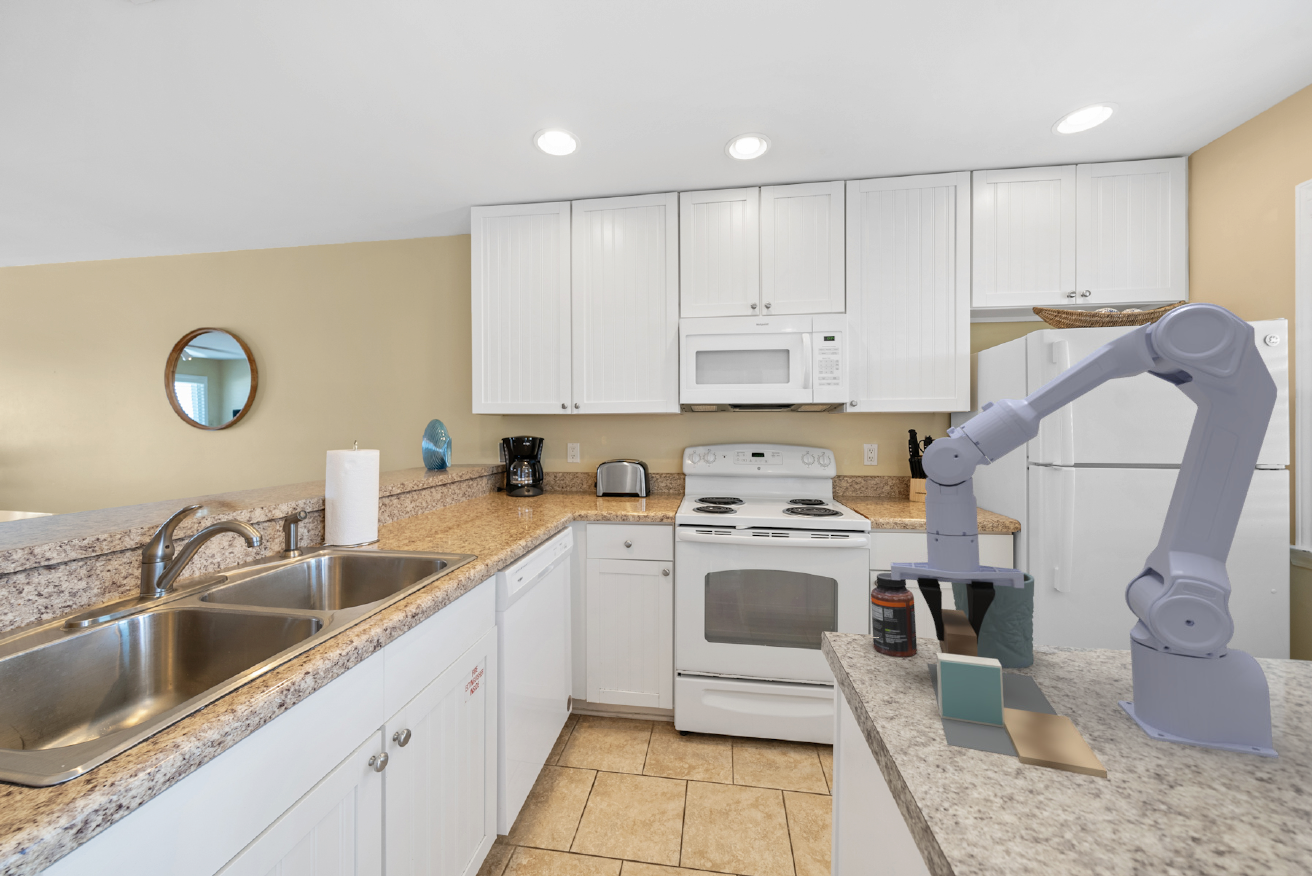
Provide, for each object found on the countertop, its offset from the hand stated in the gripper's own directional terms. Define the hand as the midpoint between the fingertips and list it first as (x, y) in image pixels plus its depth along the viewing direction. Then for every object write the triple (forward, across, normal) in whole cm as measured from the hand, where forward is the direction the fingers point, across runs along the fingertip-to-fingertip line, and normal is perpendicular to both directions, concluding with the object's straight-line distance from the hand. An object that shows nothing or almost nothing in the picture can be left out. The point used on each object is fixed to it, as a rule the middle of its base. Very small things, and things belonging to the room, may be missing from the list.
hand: (956, 639), depth 65 cm
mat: (+6, -3, +5) cm, 8 cm away
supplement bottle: (+6, +7, -10) cm, 14 cm away
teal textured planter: (+6, -6, -12) cm, 15 cm away
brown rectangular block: (+3, 0, 0) cm, 3 cm away
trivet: (+6, -6, +11) cm, 14 cm away
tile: (+6, 0, +9) cm, 10 cm away
